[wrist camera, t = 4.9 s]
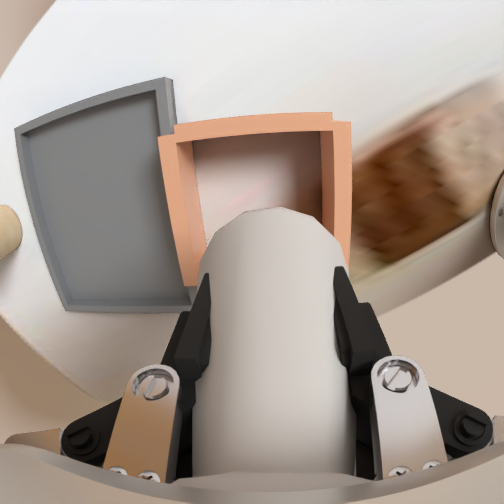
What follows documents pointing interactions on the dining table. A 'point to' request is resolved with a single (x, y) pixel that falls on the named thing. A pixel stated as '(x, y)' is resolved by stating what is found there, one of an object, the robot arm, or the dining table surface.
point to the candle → (9, 231)
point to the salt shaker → (273, 361)
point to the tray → (106, 201)
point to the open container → (180, 143)
